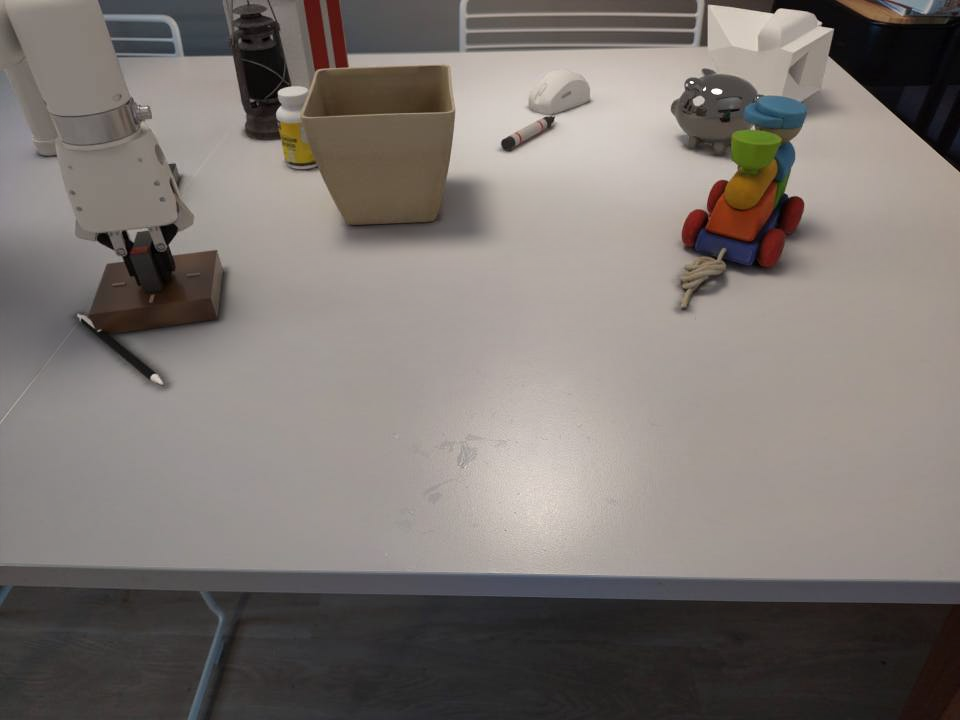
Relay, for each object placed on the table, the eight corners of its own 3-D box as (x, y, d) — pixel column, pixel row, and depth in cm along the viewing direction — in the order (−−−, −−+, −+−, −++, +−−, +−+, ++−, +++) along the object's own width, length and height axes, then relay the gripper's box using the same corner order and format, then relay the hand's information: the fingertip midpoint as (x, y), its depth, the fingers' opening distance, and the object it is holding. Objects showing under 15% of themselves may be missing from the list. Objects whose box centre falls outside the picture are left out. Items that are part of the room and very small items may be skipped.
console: (98, 336, 77) (87, 313, 75) (115, 284, 85) (106, 262, 83) (217, 319, 79) (210, 296, 77) (223, 270, 87) (216, 248, 85)
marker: (510, 151, 115) (510, 140, 114) (500, 149, 116) (500, 137, 115) (559, 124, 124) (559, 113, 123) (549, 122, 125) (550, 111, 124)
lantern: (273, 113, 131) (235, -70, 112) (319, 121, 127) (287, -67, 108) (229, 136, 122) (179, -58, 103) (276, 145, 119) (233, -54, 100)
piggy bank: (680, 126, 123) (692, 59, 115) (764, 144, 116) (781, 73, 108) (653, 146, 116) (664, 76, 108) (741, 167, 109) (758, 93, 101)
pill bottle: (283, 158, 114) (268, 87, 107) (321, 152, 116) (309, 81, 109) (289, 173, 110) (274, 100, 102) (329, 166, 111) (317, 94, 104)
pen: (83, 316, 80) (79, 308, 80) (168, 385, 70) (164, 377, 70) (76, 320, 80) (72, 312, 79) (160, 390, 70) (156, 382, 69)
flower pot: (460, 233, 94) (455, 110, 83) (320, 240, 93) (298, 116, 82) (454, 174, 108) (450, 63, 98) (334, 180, 107) (316, 68, 97)
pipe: (33, 150, 119) (-55, -48, 100) (71, 140, 122) (-8, -54, 103) (43, 159, 116) (-46, -44, 96) (82, 149, 119) (2, -50, 100)
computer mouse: (524, 108, 131) (525, 74, 127) (569, 92, 137) (572, 59, 133) (548, 117, 127) (550, 82, 123) (594, 100, 134) (597, 66, 130)
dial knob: (151, 268, 82) (136, 229, 79) (168, 266, 82) (154, 227, 79) (144, 293, 78) (128, 253, 74) (162, 291, 78) (147, 251, 75)
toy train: (638, 296, 81) (659, 162, 71) (715, 201, 100) (741, 84, 89) (741, 328, 76) (781, 188, 65) (802, 221, 95) (841, 99, 84)
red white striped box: (352, 78, 147) (333, -69, 129) (319, 106, 133) (293, -53, 116) (281, 74, 150) (254, -70, 132) (242, 101, 136) (206, -55, 119)
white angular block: (817, 19, 112) (855, 9, 122) (687, -1, 125) (732, -8, 135) (786, 124, 122) (823, 107, 132) (669, 95, 135) (712, 81, 145)
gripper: (184, 102, 72) (228, 253, 84) (21, 117, 70) (89, 270, 81) (176, 127, 67) (224, 285, 78) (-2, 144, 64) (76, 305, 76)
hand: (155, 277), depth 80 cm, fingers closed on dial knob, 2 cm apart
